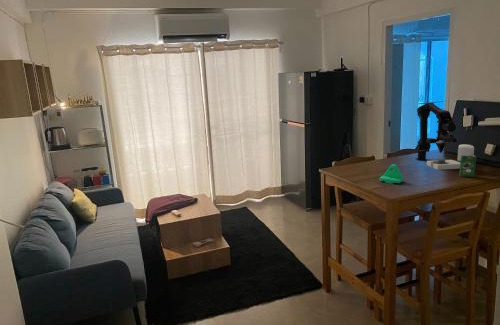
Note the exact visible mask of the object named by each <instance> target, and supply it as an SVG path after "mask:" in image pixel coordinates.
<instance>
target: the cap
mask: <svg viewBox="0 0 500 325" xmlns="http://www.w3.org/2000/svg"><path fill="white" fill-rule="evenodd" d="M445 160H446V159H445V158H444V159H443V158H436V159H434V161H435V163H437V164H445Z"/></svg>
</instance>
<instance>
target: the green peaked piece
mask: <svg viewBox="0 0 500 325" xmlns="http://www.w3.org/2000/svg"><path fill="white" fill-rule="evenodd" d="M379 181H381V182H384V183H385V184H390V185H391V184H392V185H393V184H400V183H402V182H403V181H404V176H403V174H402V172H401V171H400V169H399V167H398V165H396V164H395V163H394V164H391V165H388V168H387V169H386V171H385V172H384V174H383V175H382V176H379Z"/></svg>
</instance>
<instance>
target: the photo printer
mask: <svg viewBox="0 0 500 325" xmlns="http://www.w3.org/2000/svg"><path fill="white" fill-rule="evenodd" d="M474 154H475V147H474V146H473V145H472V144H468V143H467V144H459V145H458V148H457V162H461V155H466V156H475V155H474Z"/></svg>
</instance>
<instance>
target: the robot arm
mask: <svg viewBox="0 0 500 325" xmlns="http://www.w3.org/2000/svg"><path fill="white" fill-rule="evenodd" d="M416 113H417V116H418V118H419V127H420V128H419V139H418V141H417V145H416V146H415V148H414V152H417V156H416V157H415V160H417V161H420V162H421V161H429V159H428V158H427V152H428V153H429V152H430V149H431V148H432V147H431V144H435V145H436V146H437V149H438V151H439V153H441V154H442V153H443V151H444V149H445V147H446V146H447V145H449V143H458V138H457V137H455V135H454V134H449V133H451V132H455V131H456V130H457V124H455V123H454V121H453V117H452V115H451V112H450V111H449V110H447V109H442V108H440V107H439V106H437V105H436V104H435V103H434V102H426V103H424V104H422V105H421V106H418V108H416ZM431 113H433V114H434V115H435V118H436V119H437V121H436V123H437V130H436V132H435V133H437V134H436V136H435V138H434V137H428V118H429V117H430V115H431Z"/></svg>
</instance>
